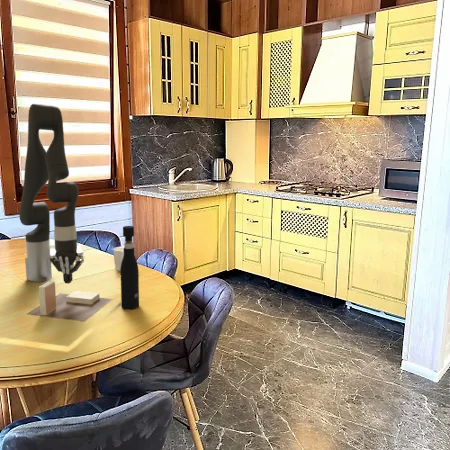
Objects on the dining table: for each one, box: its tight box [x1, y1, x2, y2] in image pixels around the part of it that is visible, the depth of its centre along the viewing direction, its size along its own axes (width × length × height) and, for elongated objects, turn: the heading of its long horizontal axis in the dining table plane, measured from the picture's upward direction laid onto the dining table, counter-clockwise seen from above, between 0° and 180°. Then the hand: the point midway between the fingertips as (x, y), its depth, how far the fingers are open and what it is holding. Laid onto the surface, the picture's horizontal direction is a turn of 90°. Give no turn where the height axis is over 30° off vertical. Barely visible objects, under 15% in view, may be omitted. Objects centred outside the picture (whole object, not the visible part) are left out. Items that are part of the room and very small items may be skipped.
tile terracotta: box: [38, 280, 57, 315], centre depth 142 cm, size 2×6×10 cm, turn 168°
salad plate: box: [50, 243, 84, 258], centre depth 215 cm, size 21×21×3 cm
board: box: [26, 293, 113, 322], centre depth 148 cm, size 22×20×1 cm
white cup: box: [113, 245, 125, 272], centre depth 194 cm, size 8×8×10 cm
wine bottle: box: [119, 225, 140, 311], centre depth 149 cm, size 6×6×30 cm
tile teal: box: [66, 290, 101, 304], centre depth 154 cm, size 2×6×10 cm
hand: (68, 282), depth 153 cm, fingers closed
